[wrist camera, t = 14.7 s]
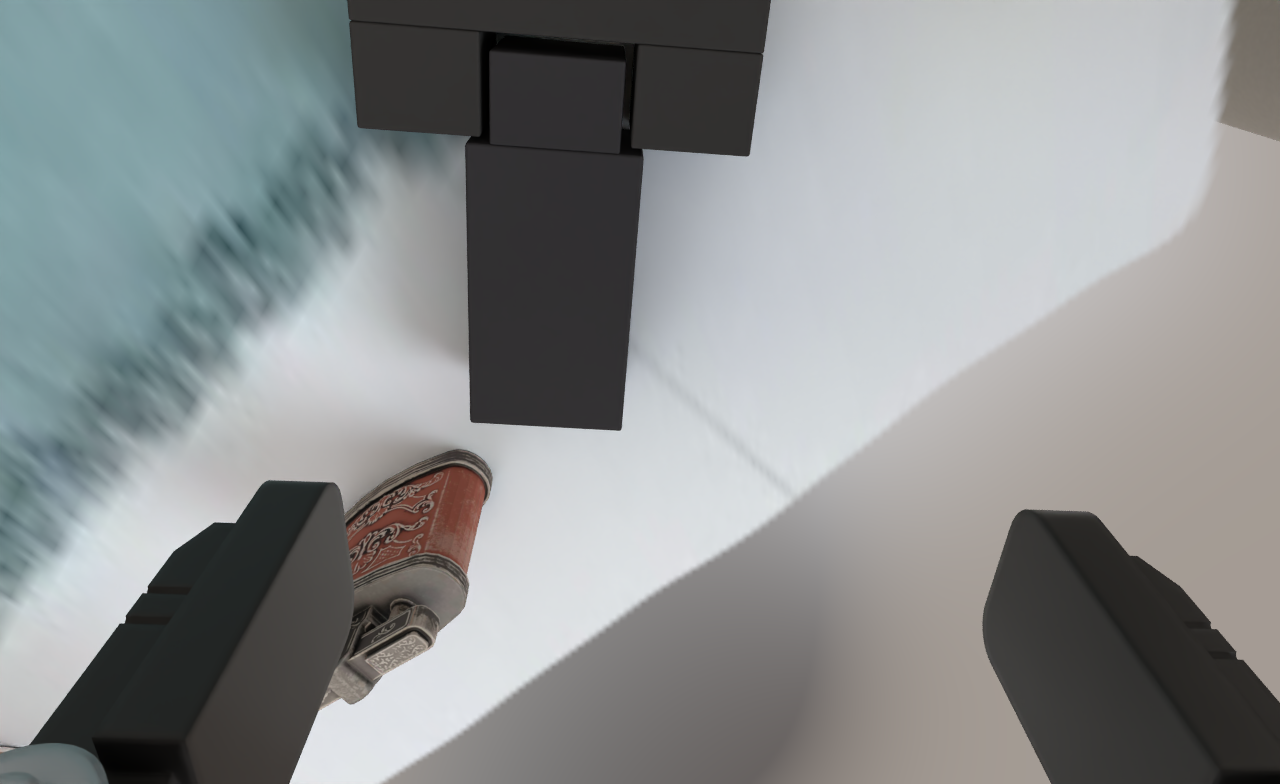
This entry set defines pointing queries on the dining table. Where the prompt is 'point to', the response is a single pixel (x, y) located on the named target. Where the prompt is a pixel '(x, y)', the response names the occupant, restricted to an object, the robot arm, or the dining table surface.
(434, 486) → the lighter
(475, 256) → the pad
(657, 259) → the dining table surface
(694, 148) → the notch pad
